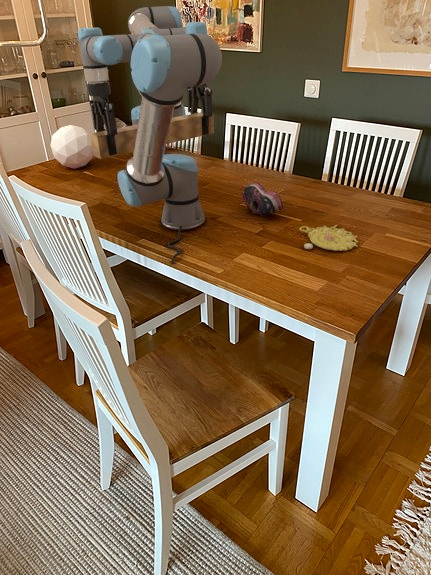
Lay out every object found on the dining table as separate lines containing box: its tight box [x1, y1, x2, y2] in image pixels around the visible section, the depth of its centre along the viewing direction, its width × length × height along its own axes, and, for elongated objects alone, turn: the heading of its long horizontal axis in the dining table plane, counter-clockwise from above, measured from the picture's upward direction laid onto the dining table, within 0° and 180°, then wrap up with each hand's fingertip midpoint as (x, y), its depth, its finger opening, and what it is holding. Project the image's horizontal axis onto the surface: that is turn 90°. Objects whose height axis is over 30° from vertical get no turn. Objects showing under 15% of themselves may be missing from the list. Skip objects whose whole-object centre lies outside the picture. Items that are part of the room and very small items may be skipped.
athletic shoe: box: [238, 182, 284, 217], centre depth 160 cm, size 11×22×12 cm
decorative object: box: [299, 224, 359, 252], centre depth 141 cm, size 21×2×20 cm
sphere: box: [50, 124, 94, 170], centre depth 209 cm, size 19×20×20 cm
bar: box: [89, 111, 215, 160], centre depth 167 cm, size 51×6×8 cm, turn 129°
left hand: (200, 132), depth 180 cm, fingers closed on bar, 6 cm apart
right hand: (109, 152), depth 158 cm, fingers closed on bar, 6 cm apart
